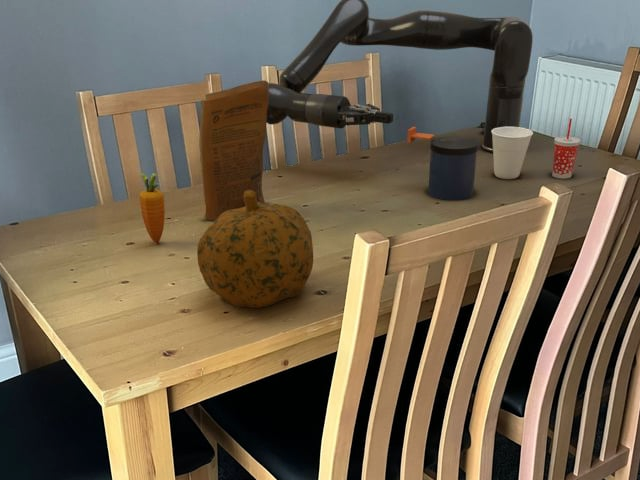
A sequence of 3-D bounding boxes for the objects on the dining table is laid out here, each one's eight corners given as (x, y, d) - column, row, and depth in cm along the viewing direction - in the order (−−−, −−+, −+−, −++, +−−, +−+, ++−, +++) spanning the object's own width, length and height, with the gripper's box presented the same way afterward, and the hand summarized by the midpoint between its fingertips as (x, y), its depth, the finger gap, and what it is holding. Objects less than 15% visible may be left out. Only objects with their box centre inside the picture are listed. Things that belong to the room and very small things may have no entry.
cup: (531, 181, 195) (537, 136, 189) (490, 182, 195) (495, 137, 189) (521, 169, 203) (527, 126, 198) (483, 170, 204) (487, 126, 198)
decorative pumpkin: (344, 294, 141) (334, 185, 130) (243, 335, 132) (224, 222, 122) (283, 261, 156) (270, 161, 145) (189, 297, 147) (168, 193, 137)
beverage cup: (556, 170, 202) (565, 114, 195) (578, 175, 198) (588, 118, 191) (544, 176, 198) (552, 119, 191) (567, 181, 195) (576, 123, 187)
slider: (407, 142, 187) (407, 129, 186) (412, 139, 190) (413, 126, 188) (429, 145, 185) (430, 132, 183) (434, 142, 187) (435, 129, 185)
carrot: (142, 241, 167) (133, 171, 159) (165, 237, 168) (157, 167, 160) (148, 249, 163) (139, 178, 155) (171, 245, 164) (164, 174, 156)
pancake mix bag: (280, 207, 183) (277, 80, 168) (211, 227, 173) (201, 94, 158) (263, 200, 187) (259, 76, 173) (194, 218, 178) (183, 88, 163)
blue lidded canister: (419, 196, 188) (423, 145, 181) (437, 182, 196) (440, 133, 189) (464, 203, 183) (469, 151, 176) (480, 189, 191) (485, 139, 184)
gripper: (339, 120, 203) (402, 128, 195) (314, 132, 193) (379, 141, 185) (340, 89, 199) (403, 96, 191) (314, 100, 189) (380, 108, 181)
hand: (391, 118), depth 188 cm, fingers closed
